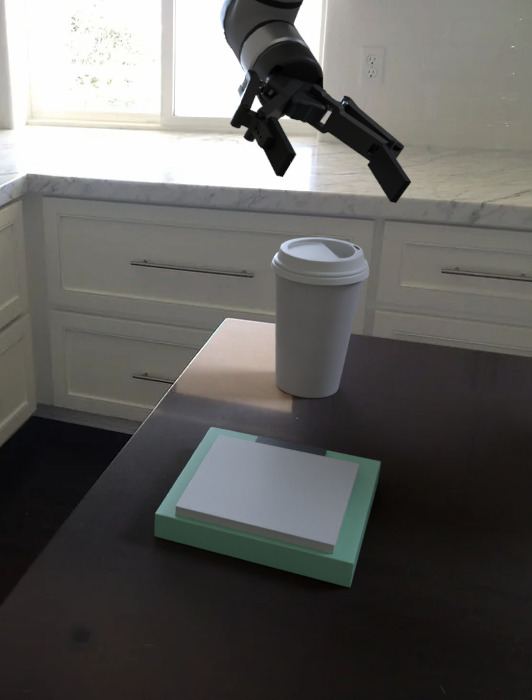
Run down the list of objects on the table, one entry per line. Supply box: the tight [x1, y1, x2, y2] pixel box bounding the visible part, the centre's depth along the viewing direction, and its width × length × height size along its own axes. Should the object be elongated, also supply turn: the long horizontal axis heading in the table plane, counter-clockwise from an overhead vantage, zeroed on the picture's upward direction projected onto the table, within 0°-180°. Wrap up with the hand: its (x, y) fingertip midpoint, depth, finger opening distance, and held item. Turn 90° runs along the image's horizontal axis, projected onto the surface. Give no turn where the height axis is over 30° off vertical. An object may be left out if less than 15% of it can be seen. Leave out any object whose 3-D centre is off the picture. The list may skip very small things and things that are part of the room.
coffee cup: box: [269, 236, 371, 399], centre depth 89 cm, size 10×10×15 cm
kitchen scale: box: [153, 426, 382, 588], centre depth 71 cm, size 15×15×3 cm
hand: (345, 179), depth 86 cm, fingers open, 13 cm apart
